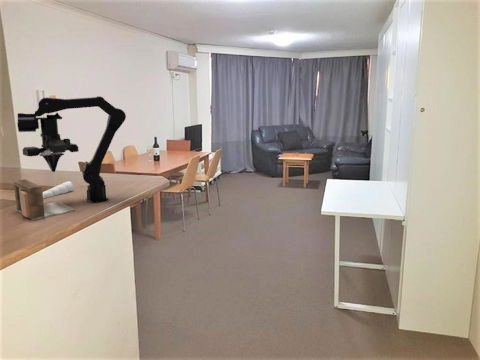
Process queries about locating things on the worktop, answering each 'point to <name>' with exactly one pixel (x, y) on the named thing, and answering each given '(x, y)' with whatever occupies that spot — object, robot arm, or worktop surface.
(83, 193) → the worktop surface
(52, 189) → the unicorn horn
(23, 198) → the terracotta plug
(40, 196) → the socket block
